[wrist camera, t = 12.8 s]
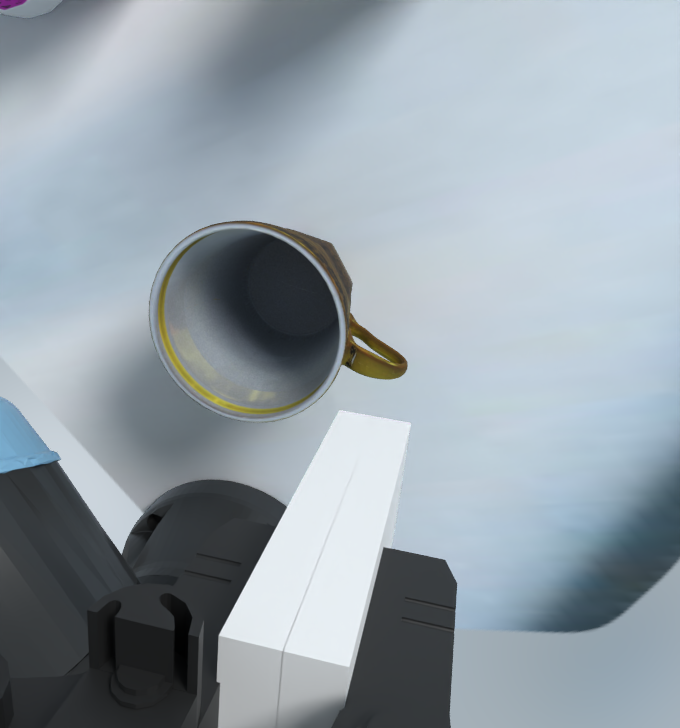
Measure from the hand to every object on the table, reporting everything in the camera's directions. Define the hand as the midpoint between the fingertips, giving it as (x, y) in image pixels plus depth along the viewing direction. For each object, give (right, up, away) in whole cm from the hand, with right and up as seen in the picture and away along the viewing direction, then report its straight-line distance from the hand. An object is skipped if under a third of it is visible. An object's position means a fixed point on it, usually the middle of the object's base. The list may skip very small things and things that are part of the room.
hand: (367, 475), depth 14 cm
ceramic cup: (-2, +7, +27) cm, 28 cm away
